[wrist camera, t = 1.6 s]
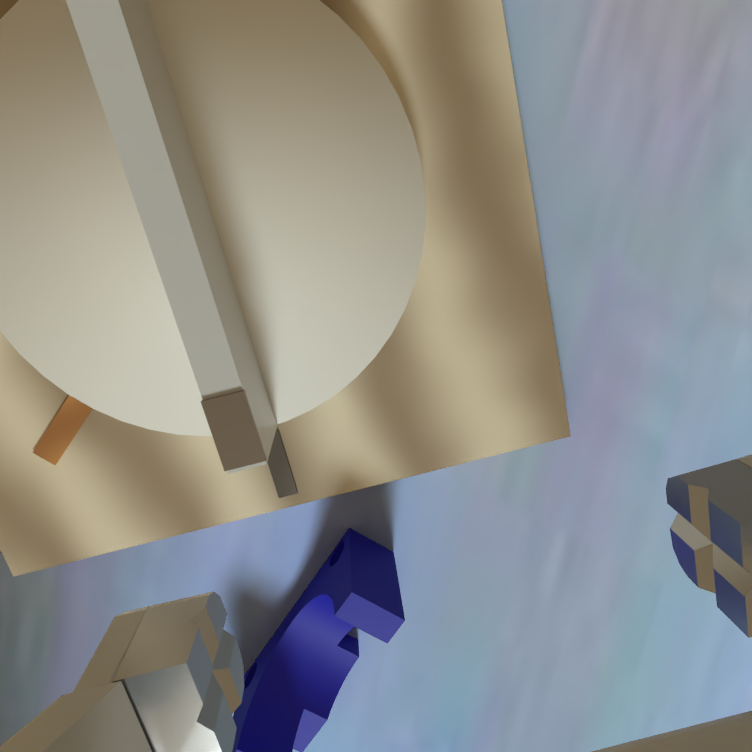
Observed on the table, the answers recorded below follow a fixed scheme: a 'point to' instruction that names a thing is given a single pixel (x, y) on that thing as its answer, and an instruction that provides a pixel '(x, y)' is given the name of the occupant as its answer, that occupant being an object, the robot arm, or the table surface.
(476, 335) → the dial board
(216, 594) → the robot arm
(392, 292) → the dial
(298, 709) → the blue notched block
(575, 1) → the table surface
